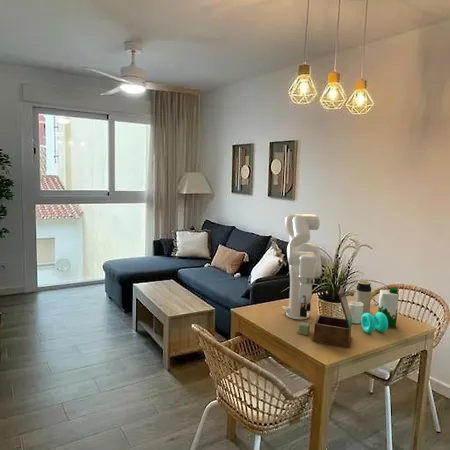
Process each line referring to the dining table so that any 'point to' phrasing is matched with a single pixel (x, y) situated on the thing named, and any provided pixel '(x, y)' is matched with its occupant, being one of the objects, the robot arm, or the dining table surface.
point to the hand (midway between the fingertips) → (305, 313)
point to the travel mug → (364, 294)
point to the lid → (346, 305)
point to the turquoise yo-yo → (374, 322)
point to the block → (304, 328)
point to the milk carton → (389, 305)
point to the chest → (332, 331)
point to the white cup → (356, 311)
